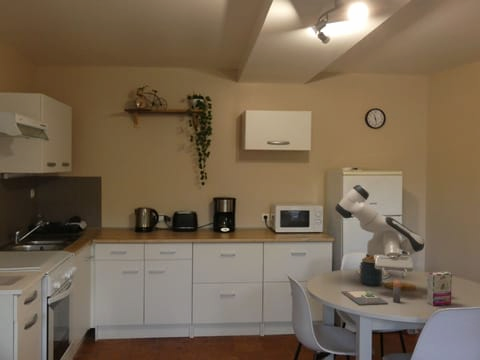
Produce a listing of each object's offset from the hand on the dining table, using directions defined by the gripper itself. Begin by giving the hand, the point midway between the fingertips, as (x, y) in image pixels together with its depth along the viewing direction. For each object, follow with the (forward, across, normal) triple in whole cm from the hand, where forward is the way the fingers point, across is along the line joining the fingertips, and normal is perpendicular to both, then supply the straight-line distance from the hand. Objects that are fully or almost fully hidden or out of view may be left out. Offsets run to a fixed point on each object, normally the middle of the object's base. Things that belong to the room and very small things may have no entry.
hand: (394, 276), depth 233 cm
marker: (+13, 0, +4) cm, 13 cm away
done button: (+14, -14, -1) cm, 20 cm away
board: (+12, -16, +5) cm, 20 cm away
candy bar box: (+11, +22, +6) cm, 25 cm away
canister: (-11, -10, +28) cm, 31 cm away
